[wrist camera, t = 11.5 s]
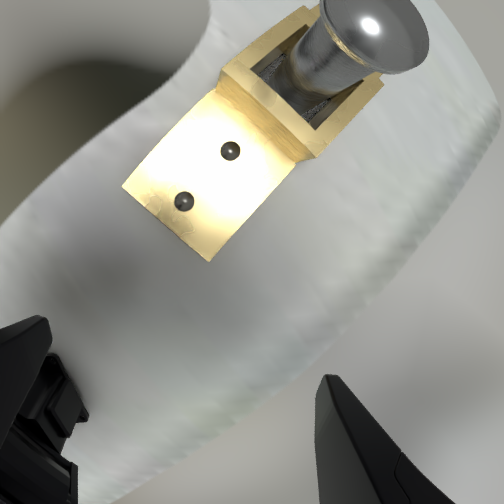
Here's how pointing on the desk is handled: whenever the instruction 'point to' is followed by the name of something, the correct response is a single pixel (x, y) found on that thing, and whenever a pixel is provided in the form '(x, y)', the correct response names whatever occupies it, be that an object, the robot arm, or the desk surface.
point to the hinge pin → (350, 49)
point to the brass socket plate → (239, 144)
